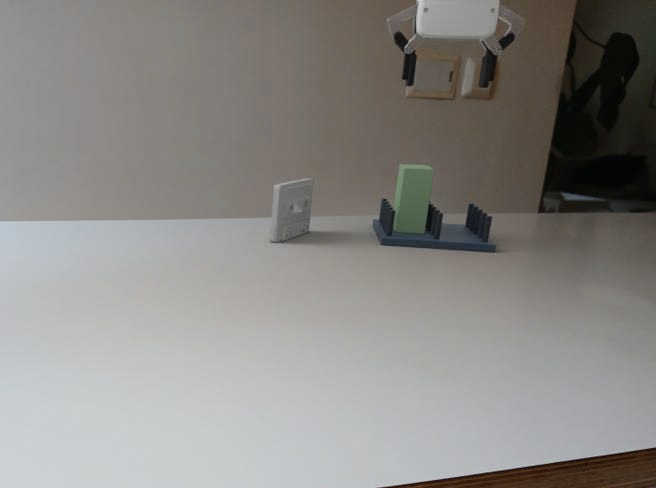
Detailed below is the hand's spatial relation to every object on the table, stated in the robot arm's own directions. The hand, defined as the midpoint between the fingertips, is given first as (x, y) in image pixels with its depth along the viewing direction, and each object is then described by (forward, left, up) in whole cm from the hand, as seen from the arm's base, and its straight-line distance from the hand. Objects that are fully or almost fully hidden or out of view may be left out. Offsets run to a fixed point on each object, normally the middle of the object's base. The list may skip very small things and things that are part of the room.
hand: (445, 86), depth 100 cm
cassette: (+19, +5, -21) cm, 29 cm away
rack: (-1, -1, -21) cm, 21 cm away
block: (+2, -1, -20) cm, 20 cm away
